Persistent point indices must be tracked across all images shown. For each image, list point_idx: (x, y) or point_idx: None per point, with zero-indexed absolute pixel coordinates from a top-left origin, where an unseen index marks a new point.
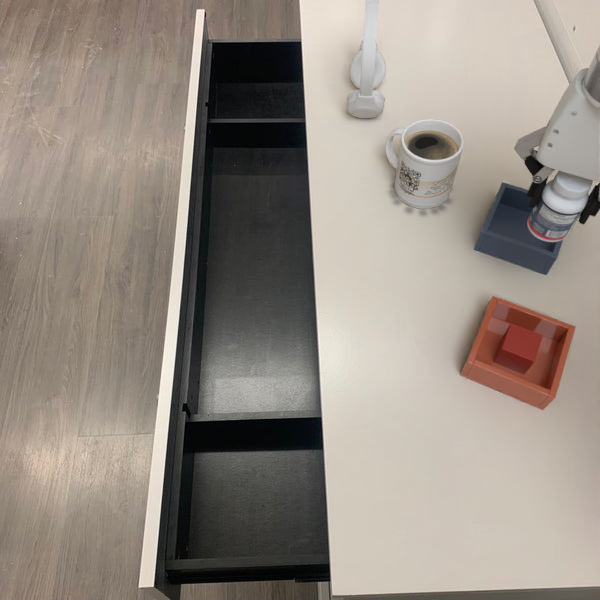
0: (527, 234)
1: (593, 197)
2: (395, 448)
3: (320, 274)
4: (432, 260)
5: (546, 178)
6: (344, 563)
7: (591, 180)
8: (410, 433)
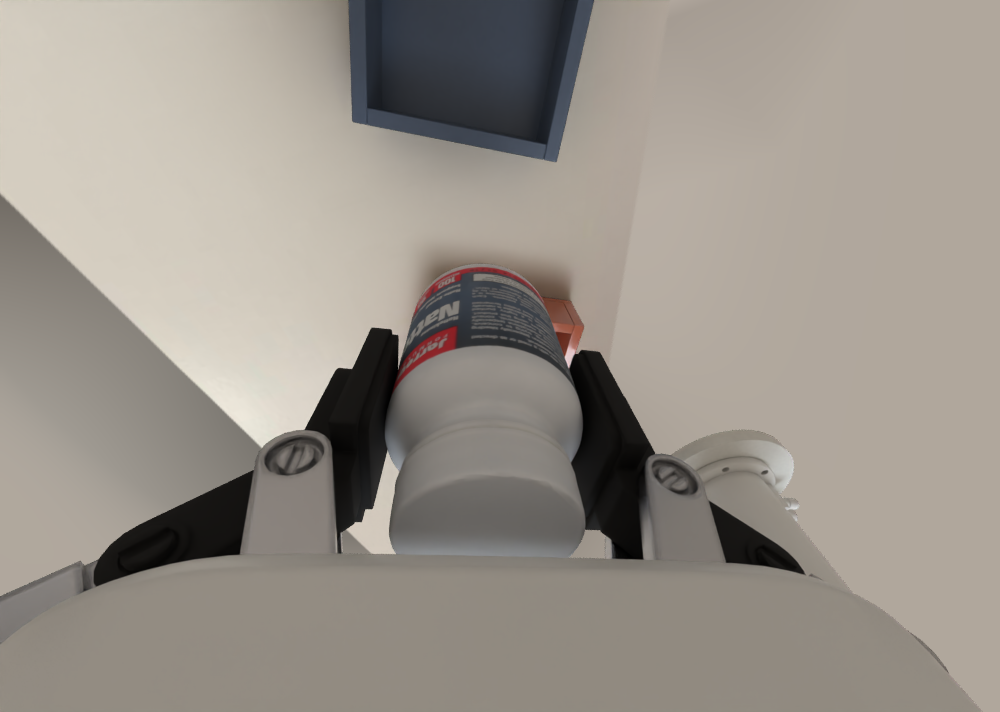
0: (491, 19)
1: (590, 505)
2: (381, 479)
3: (103, 291)
4: (293, 185)
5: (353, 522)
6: (378, 552)
7: (578, 529)
8: (390, 464)
